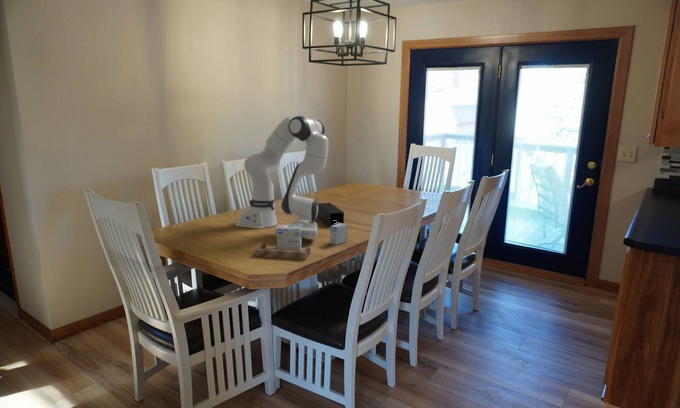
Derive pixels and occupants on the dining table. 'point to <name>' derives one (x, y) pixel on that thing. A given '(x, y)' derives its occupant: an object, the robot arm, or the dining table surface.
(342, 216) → the long black box
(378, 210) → the dining table surface
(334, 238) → the medicine box
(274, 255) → the walnut corral
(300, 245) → the light bulb box
